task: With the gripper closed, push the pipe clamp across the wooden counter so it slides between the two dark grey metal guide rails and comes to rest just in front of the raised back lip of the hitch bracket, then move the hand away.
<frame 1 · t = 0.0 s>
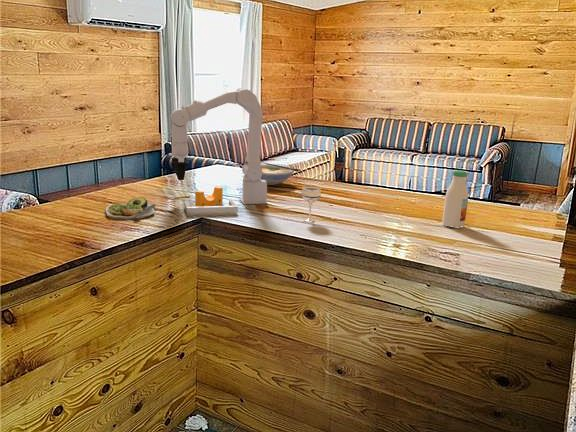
hand: (179, 177, 200), 10 cm above the table, tool pointing down, fingers open, 7 cm apart
salad plate: (131, 214, 187), on the table
milk bottle: (452, 226, 189), on the table
pipe clamp: (207, 206, 202), on the table
wineglass: (309, 221, 187), on the table
hitch bracket: (210, 211, 194), on the table
ramen bowl: (268, 184, 244), on the table
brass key: (180, 197, 212), on the table
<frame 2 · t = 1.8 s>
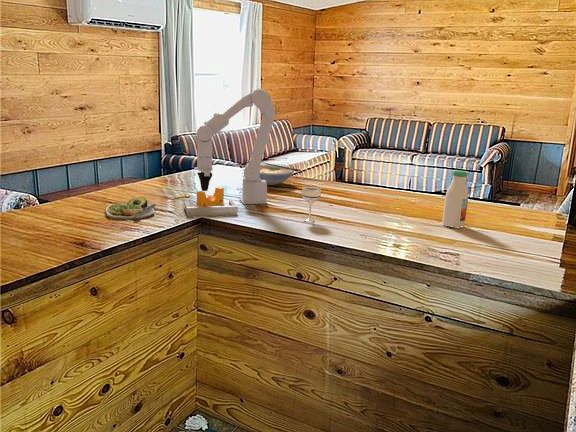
hand: (204, 190, 208), 4 cm above the table, tool pointing down, fingers closed
nothing on the table moved.
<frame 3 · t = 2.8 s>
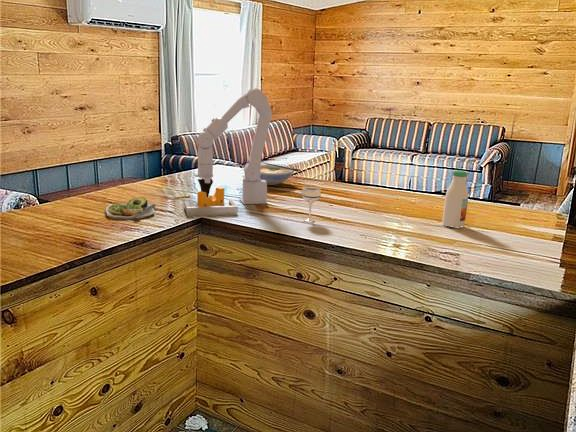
hand: (205, 197, 207), 1 cm above the table, tool pointing down, fingers closed
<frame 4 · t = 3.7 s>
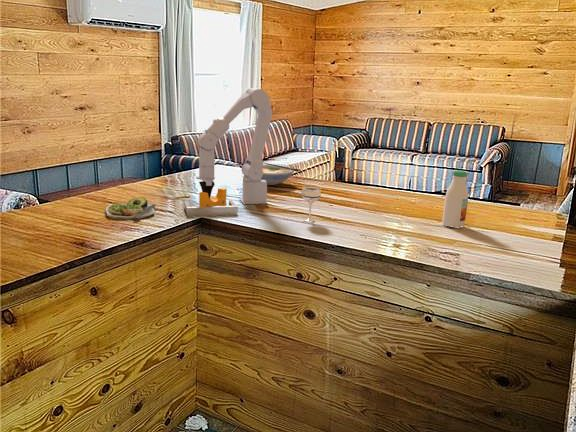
hand: (206, 200, 203), 2 cm above the table, tool pointing down, fingers closed
pipe clamp: (211, 207, 201), on the table, touching gripper
everything else where it was.
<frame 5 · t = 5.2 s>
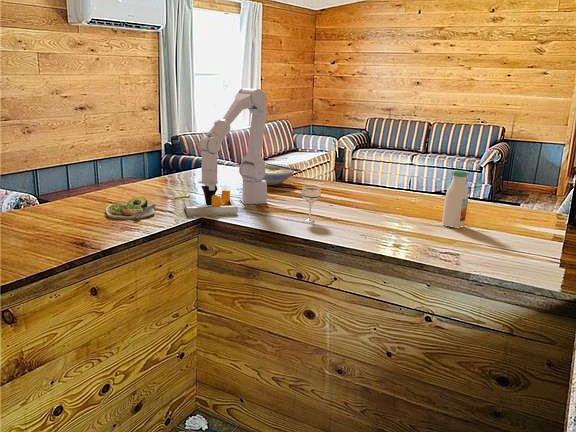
hand: (209, 205, 196), 2 cm above the table, tool pointing down, fingers closed
pipe clamp: (218, 209, 197), on the table, touching gripper
everything else where it was.
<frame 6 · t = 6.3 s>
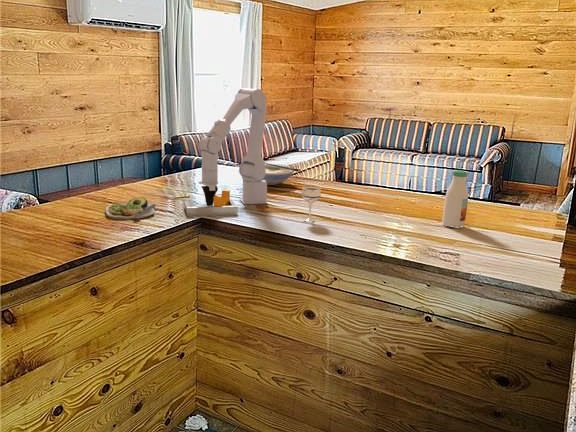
hand: (209, 205, 196), 1 cm above the table, tool pointing down, fingers closed
pipe clamp: (219, 210, 197), on the table
everything else where it was.
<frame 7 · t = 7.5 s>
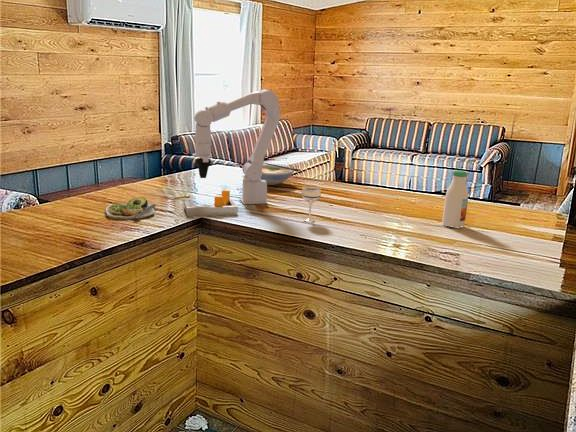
hand: (203, 177, 203), 10 cm above the table, tool pointing down, fingers closed
nothing on the table moved.
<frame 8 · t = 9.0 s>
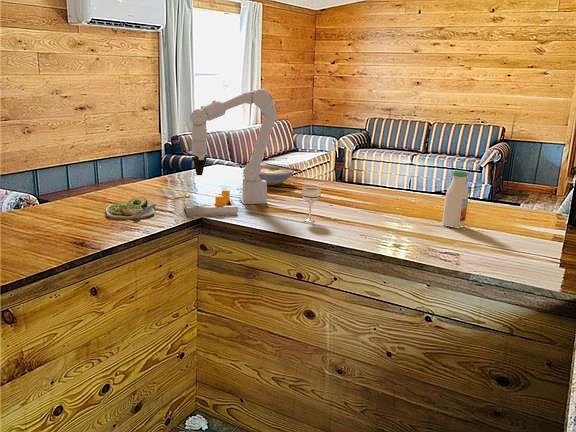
hand: (199, 175, 207), 10 cm above the table, tool pointing down, fingers closed
nothing on the table moved.
at the end: pipe clamp inside the target area on the hitch bracket (4.8 cm from its centre), point 0.0 cm above the hitch bracket's base; pipe clamp moved 8.2 cm from its start; pipe clamp tilted 0° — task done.
